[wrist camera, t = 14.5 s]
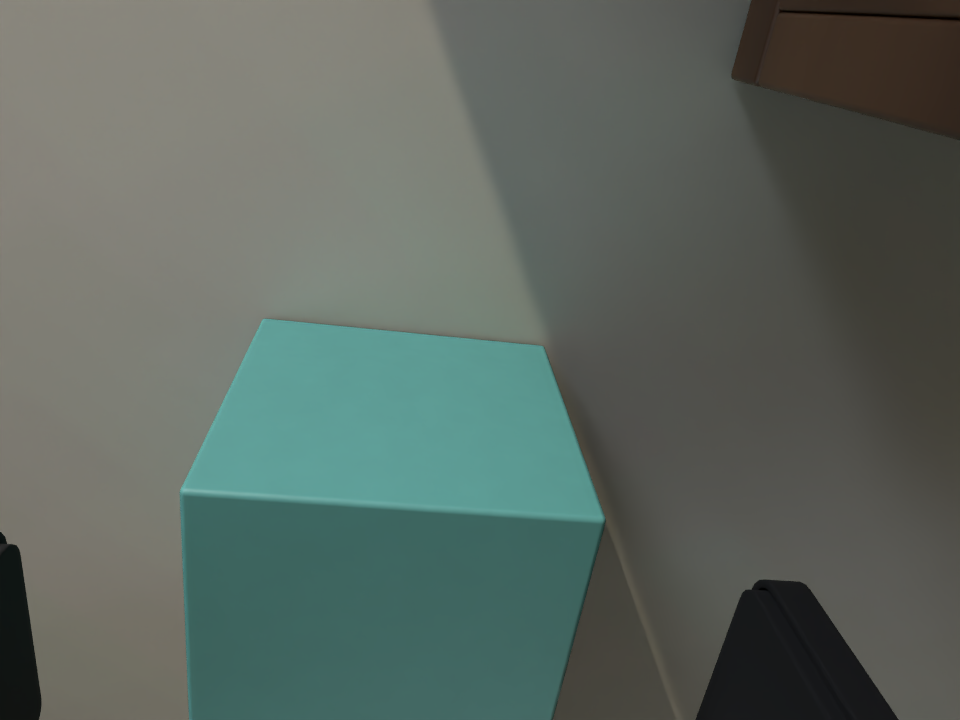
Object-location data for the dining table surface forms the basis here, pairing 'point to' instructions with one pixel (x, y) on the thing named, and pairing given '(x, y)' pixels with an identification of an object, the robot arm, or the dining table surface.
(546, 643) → the block
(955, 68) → the chest
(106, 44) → the dining table surface
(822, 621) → the robot arm
